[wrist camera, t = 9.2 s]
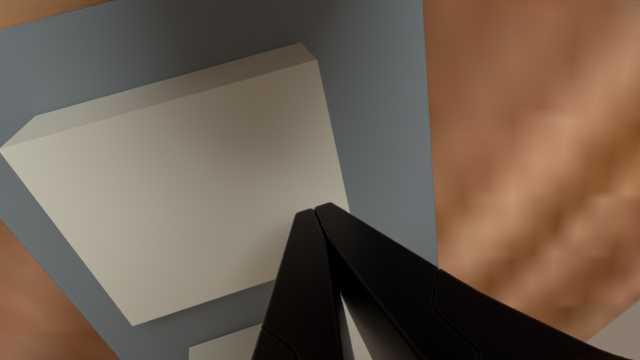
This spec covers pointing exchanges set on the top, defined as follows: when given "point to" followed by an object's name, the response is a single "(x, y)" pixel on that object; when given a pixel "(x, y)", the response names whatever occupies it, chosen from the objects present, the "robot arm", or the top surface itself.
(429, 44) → the top surface
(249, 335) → the tile
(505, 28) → the top surface
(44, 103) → the slate mat
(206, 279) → the tile
